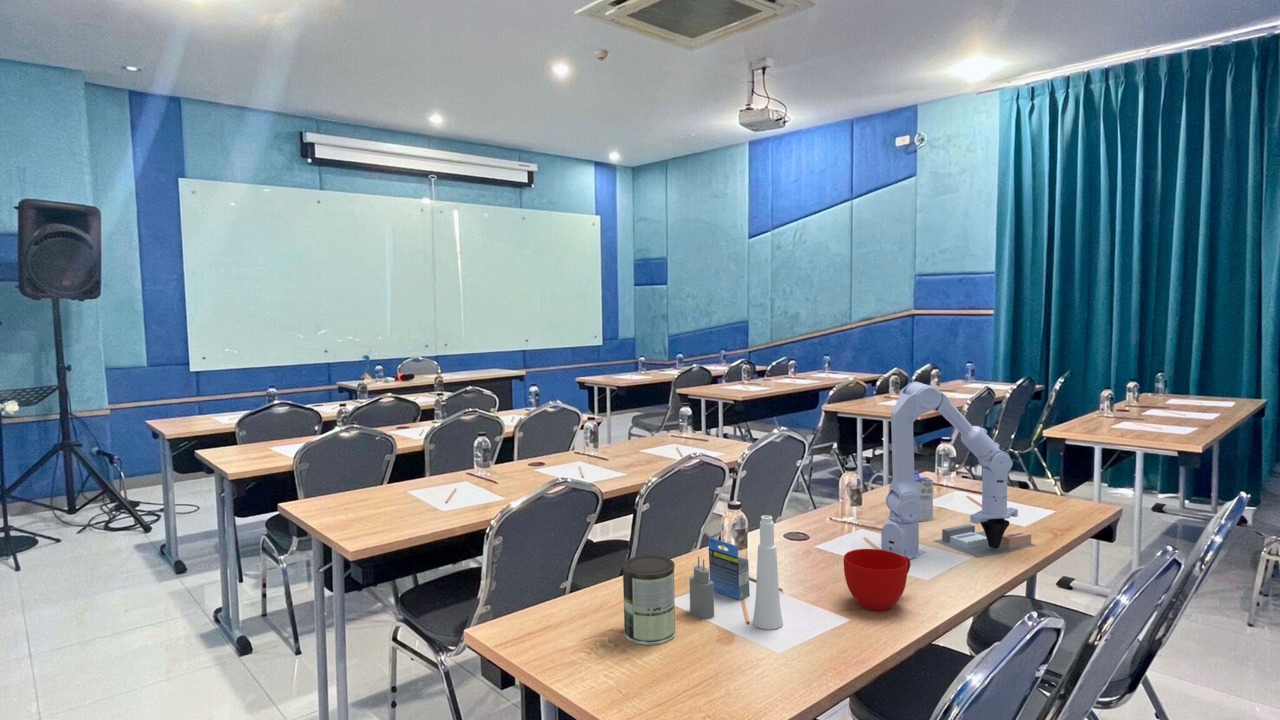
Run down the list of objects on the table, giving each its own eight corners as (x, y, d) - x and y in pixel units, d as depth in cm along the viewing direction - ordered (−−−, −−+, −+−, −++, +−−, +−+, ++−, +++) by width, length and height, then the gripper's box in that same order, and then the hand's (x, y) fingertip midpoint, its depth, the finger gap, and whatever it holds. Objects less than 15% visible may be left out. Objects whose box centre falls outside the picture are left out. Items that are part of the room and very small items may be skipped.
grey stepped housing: (964, 549, 181) (965, 537, 181) (942, 541, 188) (942, 529, 188) (993, 543, 185) (993, 531, 185) (969, 535, 192) (969, 524, 192)
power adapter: (700, 607, 151) (699, 552, 150) (715, 616, 146) (714, 560, 145) (688, 610, 149) (687, 555, 148) (703, 620, 144) (702, 563, 143)
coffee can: (613, 636, 138) (611, 566, 137) (645, 617, 146) (644, 551, 145) (654, 651, 132) (652, 577, 131) (686, 631, 140) (685, 561, 139)
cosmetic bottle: (775, 632, 138) (774, 522, 136) (747, 625, 141) (746, 518, 140) (787, 621, 143) (786, 515, 141) (760, 614, 146) (759, 510, 145)
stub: (1009, 548, 181) (1009, 538, 181) (995, 543, 185) (996, 533, 185) (1031, 543, 184) (1031, 533, 184) (1017, 539, 188) (1017, 529, 188)
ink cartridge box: (927, 516, 212) (927, 469, 211) (934, 521, 206) (934, 473, 205) (893, 516, 212) (894, 469, 211) (900, 522, 206) (900, 473, 205)
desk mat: (977, 559, 175) (977, 557, 175) (933, 542, 188) (933, 540, 188) (1037, 546, 183) (1037, 545, 183) (990, 531, 196) (990, 529, 196)
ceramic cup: (933, 604, 149) (934, 558, 149) (877, 623, 141) (877, 574, 140) (885, 584, 161) (885, 541, 160) (830, 600, 152) (830, 555, 152)
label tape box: (750, 595, 156) (749, 541, 155) (738, 601, 153) (738, 546, 152) (720, 585, 162) (719, 533, 162) (708, 590, 160) (707, 537, 159)
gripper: (986, 502, 173) (986, 556, 174) (1028, 495, 179) (1027, 547, 180) (963, 495, 180) (963, 547, 181) (1004, 489, 185) (1004, 539, 186)
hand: (993, 547), depth 181 cm, fingers closed
